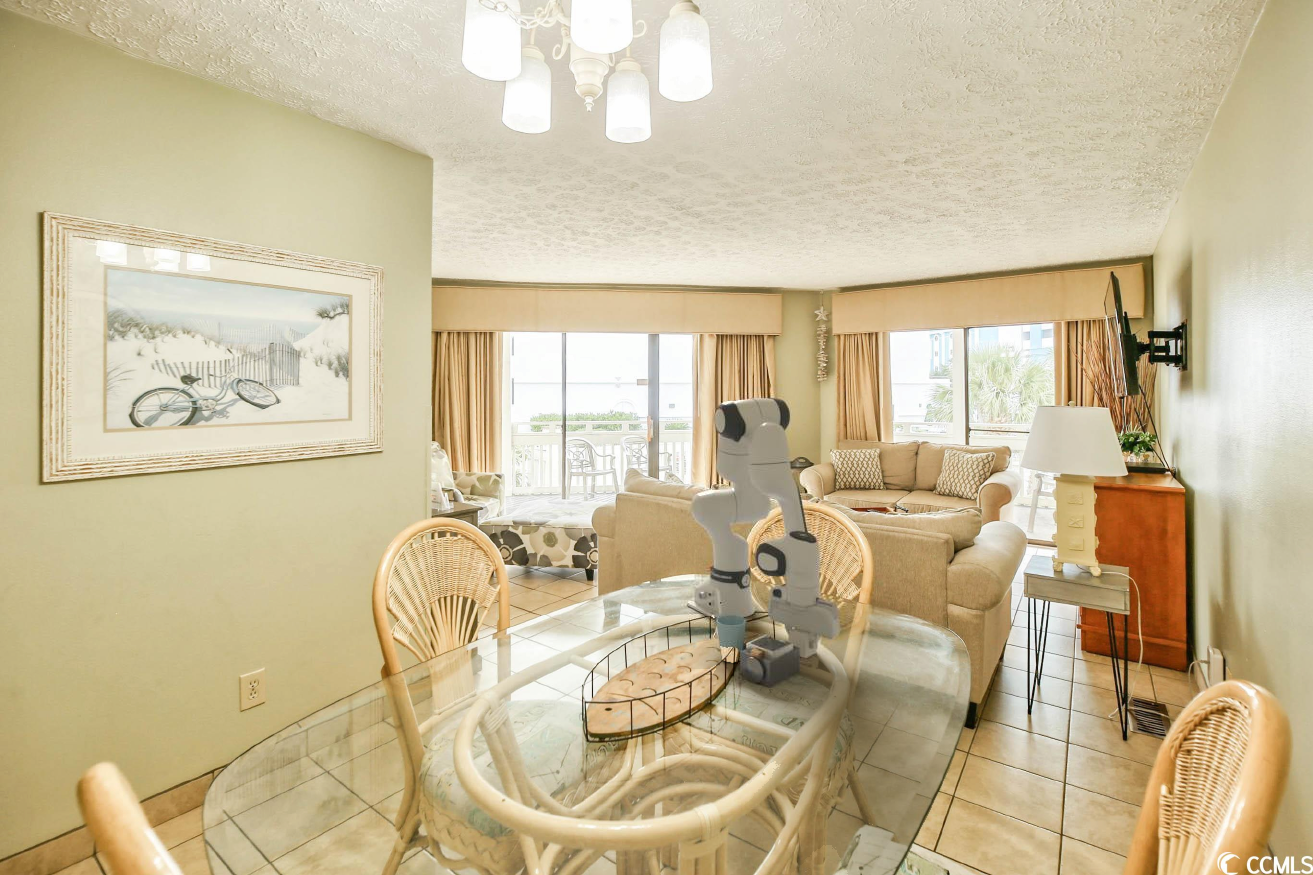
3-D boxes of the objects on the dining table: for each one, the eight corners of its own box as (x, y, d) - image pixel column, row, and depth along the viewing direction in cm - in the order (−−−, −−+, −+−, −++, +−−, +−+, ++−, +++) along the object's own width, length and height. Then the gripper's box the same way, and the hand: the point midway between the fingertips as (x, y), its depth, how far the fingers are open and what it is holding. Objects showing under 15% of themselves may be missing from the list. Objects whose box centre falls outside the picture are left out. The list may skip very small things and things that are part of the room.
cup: (736, 668, 155) (736, 627, 154) (711, 660, 160) (710, 621, 159) (751, 657, 161) (751, 618, 160) (727, 650, 166) (726, 612, 165)
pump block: (789, 652, 163) (789, 630, 163) (803, 645, 168) (803, 624, 167) (805, 658, 160) (805, 635, 159) (819, 650, 164) (819, 629, 164)
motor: (737, 676, 151) (737, 646, 150) (772, 658, 160) (772, 630, 159) (767, 688, 144) (767, 657, 143) (801, 669, 153) (801, 640, 153)
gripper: (844, 600, 156) (844, 653, 158) (778, 582, 172) (778, 631, 173) (831, 606, 152) (831, 660, 153) (764, 588, 167) (765, 637, 168)
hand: (802, 644), depth 163 cm, fingers closed on pump block, 5 cm apart
